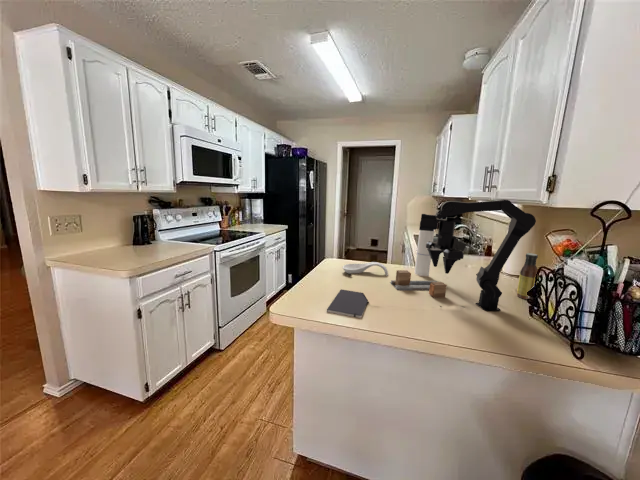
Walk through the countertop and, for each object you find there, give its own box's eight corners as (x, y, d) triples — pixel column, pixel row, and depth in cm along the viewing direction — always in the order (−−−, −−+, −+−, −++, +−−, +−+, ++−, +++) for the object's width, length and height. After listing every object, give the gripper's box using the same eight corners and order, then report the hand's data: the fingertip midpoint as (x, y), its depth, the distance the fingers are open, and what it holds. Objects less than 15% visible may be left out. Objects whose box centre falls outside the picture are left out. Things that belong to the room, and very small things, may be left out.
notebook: (340, 292, 120) (326, 313, 100) (340, 289, 120) (326, 309, 100) (369, 297, 116) (361, 319, 97) (370, 293, 116) (361, 315, 96)
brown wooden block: (444, 301, 115) (446, 285, 113) (431, 301, 114) (433, 285, 113) (440, 297, 118) (442, 282, 117) (427, 297, 117) (429, 282, 116)
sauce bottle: (527, 295, 125) (536, 252, 121) (536, 301, 119) (546, 256, 115) (512, 294, 126) (520, 251, 122) (520, 299, 120) (529, 255, 116)
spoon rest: (340, 275, 142) (341, 262, 140) (343, 269, 153) (344, 256, 152) (387, 281, 137) (389, 267, 135) (387, 274, 148) (388, 261, 146)
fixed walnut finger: (409, 287, 124) (411, 272, 123) (397, 287, 123) (399, 272, 122) (406, 284, 127) (408, 270, 126) (395, 284, 127) (396, 270, 125)
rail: (444, 293, 123) (445, 287, 122) (397, 293, 120) (397, 287, 120) (433, 285, 132) (434, 279, 132) (389, 285, 130) (389, 279, 130)
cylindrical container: (414, 277, 143) (419, 230, 138) (413, 273, 149) (419, 228, 145) (429, 279, 141) (435, 231, 136) (427, 275, 148) (433, 229, 143)
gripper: (480, 237, 102) (473, 277, 105) (451, 229, 121) (447, 263, 124) (451, 236, 101) (445, 277, 104) (427, 228, 119) (423, 263, 123)
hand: (440, 269), depth 114 cm, fingers open, 9 cm apart
